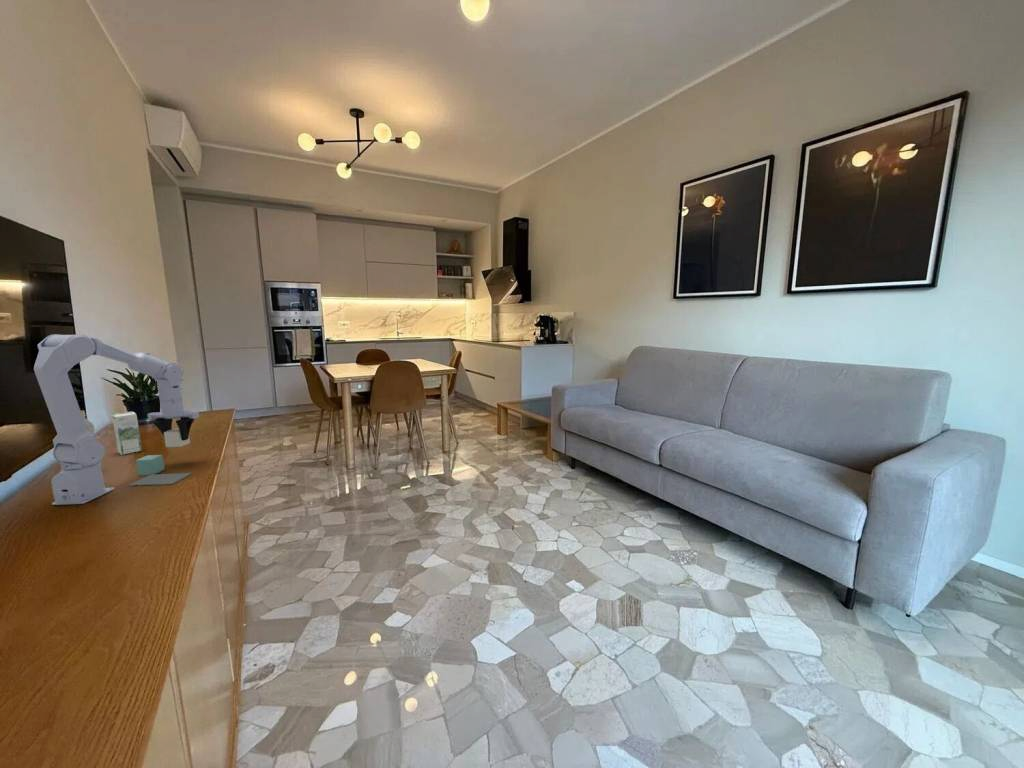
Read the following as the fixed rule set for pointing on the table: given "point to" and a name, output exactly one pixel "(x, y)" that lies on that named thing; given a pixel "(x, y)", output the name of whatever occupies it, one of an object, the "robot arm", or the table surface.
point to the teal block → (150, 464)
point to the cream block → (174, 438)
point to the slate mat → (160, 479)
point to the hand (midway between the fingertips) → (177, 439)
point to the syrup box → (126, 432)
